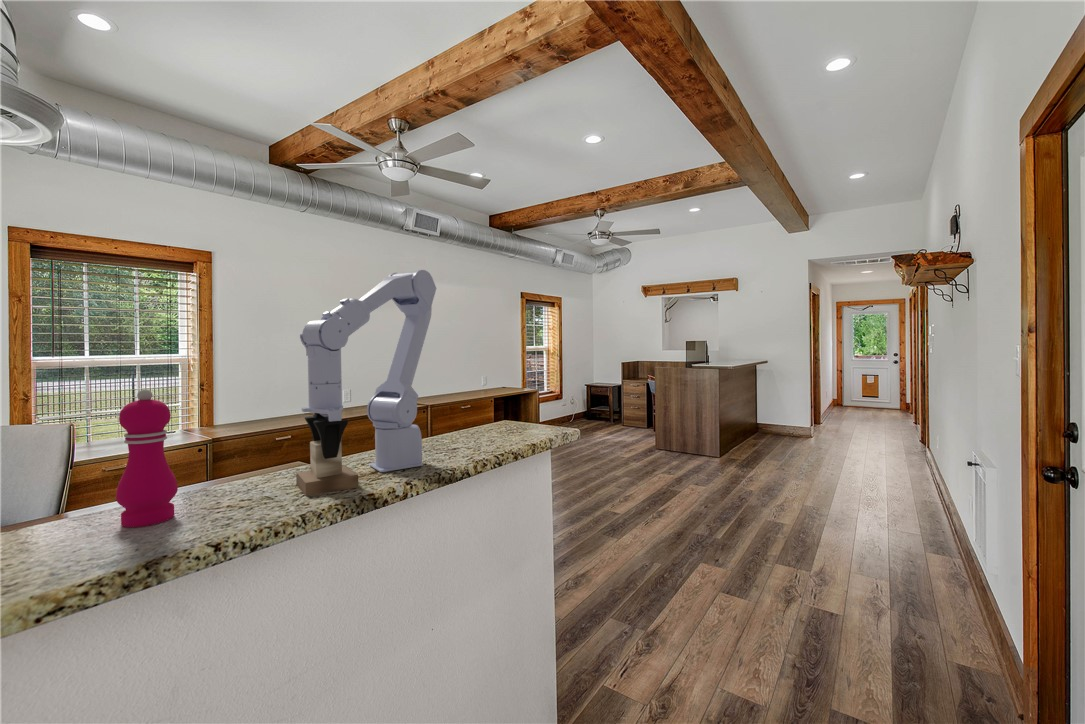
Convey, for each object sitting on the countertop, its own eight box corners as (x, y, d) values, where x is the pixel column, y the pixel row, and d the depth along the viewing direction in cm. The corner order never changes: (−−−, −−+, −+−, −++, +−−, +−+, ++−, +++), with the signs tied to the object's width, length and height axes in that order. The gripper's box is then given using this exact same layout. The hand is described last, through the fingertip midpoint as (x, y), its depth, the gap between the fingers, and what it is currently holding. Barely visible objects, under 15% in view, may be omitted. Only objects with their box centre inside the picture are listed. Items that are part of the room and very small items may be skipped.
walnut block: (345, 479, 96) (345, 465, 96) (358, 490, 89) (358, 474, 89) (296, 487, 91) (296, 472, 91) (305, 499, 84) (305, 482, 84)
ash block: (335, 469, 93) (334, 438, 93) (342, 473, 89) (341, 442, 89) (310, 472, 90) (309, 441, 90) (316, 478, 87) (315, 445, 87)
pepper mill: (146, 511, 76) (142, 387, 75) (190, 512, 76) (186, 387, 75) (102, 529, 69) (98, 391, 68) (151, 529, 69) (147, 391, 68)
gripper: (294, 382, 93) (295, 451, 93) (310, 386, 81) (311, 465, 82) (332, 380, 97) (333, 446, 97) (353, 384, 86) (354, 459, 86)
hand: (326, 454), depth 90 cm, fingers open, 6 cm apart
